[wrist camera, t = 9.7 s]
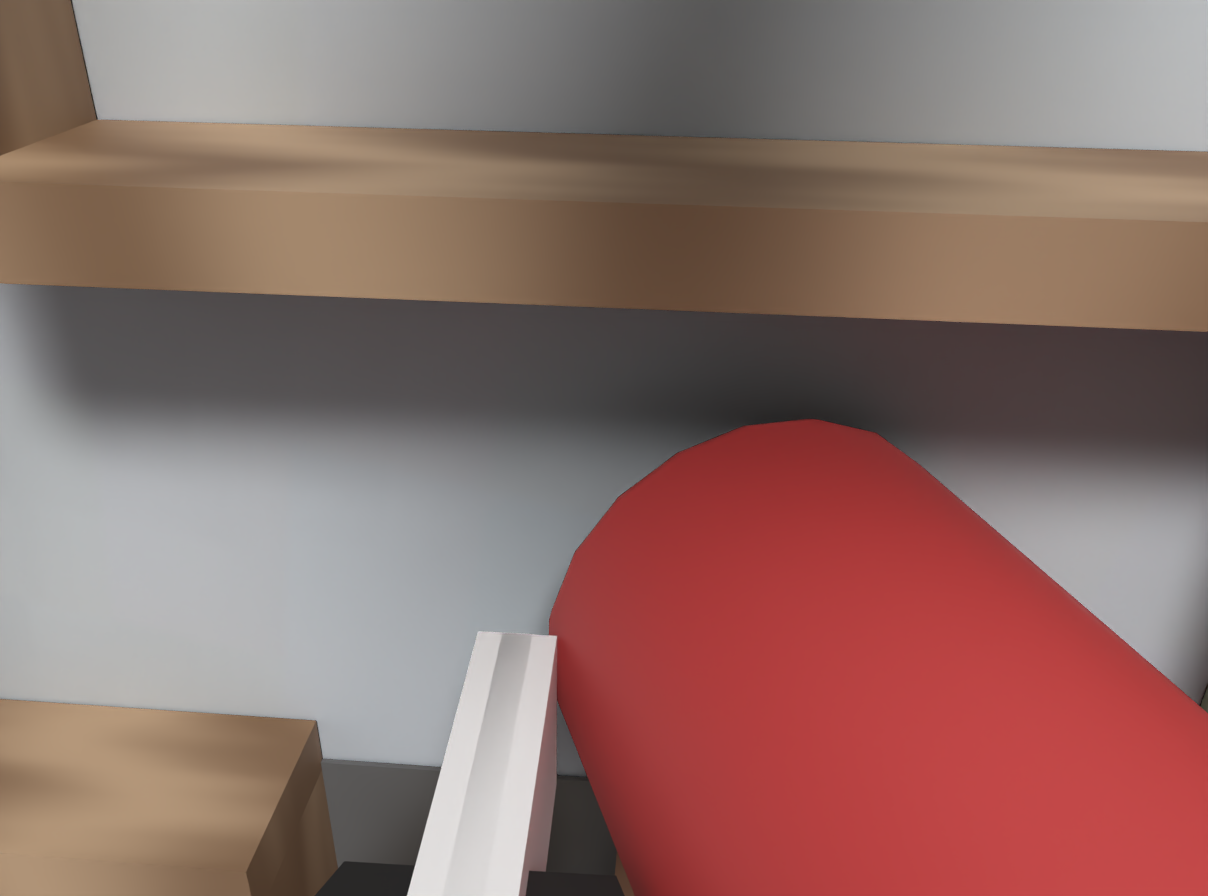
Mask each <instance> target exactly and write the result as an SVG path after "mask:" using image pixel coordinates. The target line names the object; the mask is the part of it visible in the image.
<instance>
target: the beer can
mask: <svg viewBox="0 0 1208 896" xmlns="http://www.w3.org/2000/svg"><path fill="white" fill-rule="evenodd" d="M549 635H552V636H557V701H558V704H559V706H560V709H561V711H562V714H563V716H564V719H565V721H566V724H567V726H568V729H569V731H570V734H571V736H572V739H573V741H574V744H575V746H576V749H577V751H578V754H579V757H580V759H581V762H582V764H583V767H584V769H585V772H586V774H587V777H588V779H589V782H590V784H591V787H592V789H593V792H594V794H595V797H596V799H597V802H598V804H599V807H600V809H601V812H602V814H603V817H604V819H605V822H606V825H607V827H608V830H609V832H610V835H611V837H612V840H613V842H614V845H615V847H616V850H617V852H618V855H619V857H620V860H621V862H622V865H623V867H624V870H625V872H626V875H627V877H628V880H629V882H630V885H631V887H632V890H633V893H634V895H635V896H1208V713H1207V712H1206V711H1205V710H1204V709H1202V708H1201V707H1200V706H1199V705H1198V704H1197V703H1195V702H1194V701H1193V700H1192V699H1191V698H1190V697H1189V696H1187V695H1186V694H1185V693H1184V692H1183V691H1182V690H1180V689H1179V688H1178V687H1177V686H1176V685H1175V684H1173V683H1172V682H1171V681H1170V680H1169V679H1168V678H1166V677H1165V676H1164V675H1163V674H1162V673H1161V672H1160V671H1158V670H1157V669H1156V668H1155V667H1154V666H1153V665H1151V664H1150V663H1149V662H1148V661H1147V660H1146V659H1144V658H1143V657H1142V656H1141V655H1140V654H1139V653H1137V652H1136V651H1135V650H1134V649H1133V648H1132V647H1131V646H1129V645H1128V644H1127V643H1126V642H1125V641H1124V640H1122V639H1121V638H1120V637H1119V636H1118V635H1117V634H1115V633H1114V632H1113V631H1112V630H1111V629H1110V628H1109V627H1107V626H1106V625H1105V624H1104V623H1103V622H1102V621H1100V620H1099V619H1098V618H1097V617H1096V616H1095V615H1093V614H1092V613H1091V612H1090V611H1089V610H1088V609H1086V608H1085V607H1084V606H1083V605H1082V604H1081V603H1080V602H1078V601H1077V600H1076V599H1075V598H1074V597H1073V596H1071V595H1070V594H1069V593H1068V592H1067V591H1066V590H1064V589H1063V588H1062V587H1061V586H1060V585H1059V584H1057V583H1056V582H1055V581H1054V580H1053V579H1052V578H1051V577H1049V576H1048V575H1047V574H1046V573H1045V572H1044V571H1042V570H1041V569H1040V568H1039V567H1038V566H1037V565H1035V564H1034V563H1033V562H1032V561H1031V560H1030V559H1028V558H1027V557H1026V556H1025V555H1024V554H1023V553H1022V552H1020V551H1019V550H1018V549H1017V548H1016V547H1015V546H1013V545H1012V544H1011V543H1010V542H1009V541H1008V540H1006V539H1005V538H1004V537H1003V536H1002V535H1001V534H1000V533H998V532H997V531H996V530H995V529H994V528H993V527H991V526H990V525H989V524H988V523H987V522H986V521H984V520H983V519H982V518H981V517H980V516H979V515H977V514H976V513H975V512H974V511H973V510H972V509H971V508H969V507H968V506H967V505H966V504H965V503H964V502H962V501H961V500H960V499H959V498H958V497H957V496H955V495H954V494H953V493H952V492H951V491H950V490H948V489H947V488H946V487H945V486H944V485H943V484H942V483H940V482H939V481H938V480H937V479H936V478H935V477H933V476H932V475H931V474H930V473H929V472H928V471H926V470H925V469H924V468H923V467H922V466H921V465H919V464H918V463H917V462H916V461H914V460H913V459H911V458H910V457H909V456H907V455H906V454H905V453H903V452H902V451H900V450H899V449H898V448H896V447H895V446H894V445H892V444H891V443H889V442H888V441H887V440H885V439H884V438H882V437H881V436H880V435H878V434H877V433H875V432H870V431H866V430H862V429H857V428H853V427H848V426H844V425H840V424H835V423H831V422H826V421H822V420H817V419H802V420H792V421H783V422H774V423H765V424H755V425H746V426H742V427H740V428H737V429H735V430H732V431H730V432H727V433H725V434H722V435H720V436H717V437H715V438H713V439H710V440H708V441H705V442H703V443H700V444H698V445H695V446H693V447H691V448H688V449H686V450H683V451H681V452H678V453H676V454H675V455H674V456H672V457H671V458H670V459H668V460H667V461H666V462H664V463H663V464H662V465H660V466H659V467H658V468H656V469H655V470H654V471H652V472H651V473H650V474H648V475H647V476H646V477H644V478H643V479H642V480H640V481H639V482H638V483H636V484H635V485H634V486H632V487H631V488H630V489H628V490H627V491H626V492H624V493H623V494H622V495H620V496H619V497H618V498H617V499H616V501H615V502H614V503H613V504H612V506H611V507H610V508H609V510H608V511H607V512H606V513H605V515H604V516H603V517H602V518H601V520H600V521H599V522H598V523H597V525H596V526H595V527H594V528H593V530H592V531H591V532H590V534H589V535H588V536H587V537H586V539H585V540H584V541H583V542H582V544H581V545H580V546H579V547H578V549H577V550H576V551H575V553H574V555H573V558H572V560H571V563H570V565H569V568H568V571H567V573H566V576H565V578H564V581H563V583H562V586H561V588H560V591H559V593H558V596H557V598H556V601H555V603H554V606H553V608H552V611H551V615H550V619H549Z"/></svg>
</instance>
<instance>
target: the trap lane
mask: <svg viewBox="0 0 1208 896" xmlns="http://www.w3.org/2000/svg"><path fill="white" fill-rule="evenodd" d="M0 283H4V284H29V285H54V286H79V287H104V288H129V289H154V290H179V291H204V292H228V293H253V294H278V295H303V296H328V297H353V298H378V299H403V300H427V301H452V302H477V303H502V304H527V305H552V306H577V307H602V308H626V309H651V310H676V311H701V312H726V313H751V314H776V315H801V316H826V317H850V318H875V319H900V320H925V321H950V322H975V323H1000V324H1025V325H1049V326H1074V327H1099V328H1124V329H1149V330H1174V331H1199V332H1208V152H1197V151H1163V150H1128V149H1094V148H1059V147H1025V146H990V145H955V144H921V143H886V142H852V141H817V140H783V139H748V138H713V137H679V136H644V135H610V134H575V133H541V132H506V131H472V130H437V129H402V128H368V127H333V126H299V125H264V124H230V123H195V122H160V121H126V120H96V115H95V110H94V106H93V101H92V97H91V92H90V87H89V83H88V78H87V73H86V69H85V64H84V60H83V55H82V50H81V46H80V41H79V37H78V32H77V27H76V23H75V18H74V14H73V9H72V4H71V0H0ZM1200 707H1201V708H1202V709H1204V710H1205V711H1206V712H1207V713H1208V687H1207V690H1206V693H1205V695H1204V698H1203V700H1202V703H1201V706H1200ZM440 771H441V767H432V766H417V765H403V764H389V763H375V762H361V761H347V760H333V759H322V754H321V748H320V741H319V735H318V729H317V723H316V721H314V720H299V719H284V718H270V717H255V716H240V715H226V714H211V713H196V712H182V711H167V710H153V709H138V708H123V707H109V706H94V705H79V704H65V703H50V702H35V701H21V700H6V699H0V896H315V895H316V893H317V892H318V891H319V890H320V889H321V888H322V887H323V885H324V884H325V883H326V882H327V881H328V880H329V878H330V877H331V876H332V875H333V874H334V873H335V871H336V870H337V869H338V868H339V867H340V866H341V864H342V863H343V862H344V861H350V862H366V863H382V864H399V865H415V864H416V860H417V857H418V853H419V849H420V846H421V842H422V838H423V834H424V831H425V827H426V823H427V819H428V816H429V812H430V808H431V805H432V801H433V797H434V793H435V790H436V786H437V782H438V779H439V775H440ZM546 872H561V873H578V874H595V875H612V876H617V879H618V881H619V884H620V886H621V888H622V891H623V893H624V895H625V896H635V895H634V893H633V890H632V887H631V885H630V882H629V880H628V877H627V875H626V872H625V870H624V867H623V865H622V862H621V860H620V857H619V855H618V852H617V850H616V847H615V845H614V842H613V840H612V837H611V835H610V832H609V830H608V827H607V825H606V822H605V819H604V817H603V814H602V812H601V809H600V807H599V804H598V802H597V799H596V797H595V794H594V792H593V789H592V787H591V784H590V782H589V779H588V778H587V777H573V776H559V775H557V784H556V792H555V800H554V808H553V816H552V824H551V833H550V841H549V849H548V857H547V865H546Z"/></svg>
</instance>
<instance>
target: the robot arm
mask: <svg viewBox="0 0 1208 896" xmlns="http://www.w3.org/2000/svg"><path fill="white" fill-rule="evenodd" d="M556 784H557V636H552V635H533V634H522V633H503V632H484V631H478V633H477V637H476V641H475V644H474V648H473V652H472V656H471V659H470V663H469V667H468V671H467V674H466V678H465V682H464V685H463V689H462V693H461V697H460V700H459V704H458V708H457V711H456V715H455V719H454V723H453V726H452V730H451V734H450V738H449V741H448V745H447V749H446V752H445V756H444V760H443V764H442V767H441V771H440V775H439V779H438V782H437V786H436V790H435V793H434V797H433V801H432V805H431V808H430V812H429V816H428V819H427V823H426V827H425V831H424V834H423V838H422V842H421V846H420V849H419V853H418V857H417V860H416V864H415V865H399V864H382V863H366V862H350V861H344V862H343V863H342V864H341V866H340V867H339V868H338V869H337V870H336V871H335V873H334V874H333V875H332V876H331V877H330V878H329V880H328V881H327V882H326V883H325V884H324V885H323V887H322V888H321V889H320V890H319V891H318V892H317V893H316V895H315V896H625V895H624V893H623V891H622V888H621V886H620V884H619V881H618V879H617V876H612V875H595V874H578V873H561V872H546V865H547V857H548V849H549V841H550V833H551V824H552V816H553V808H554V800H555V792H556Z"/></svg>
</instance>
